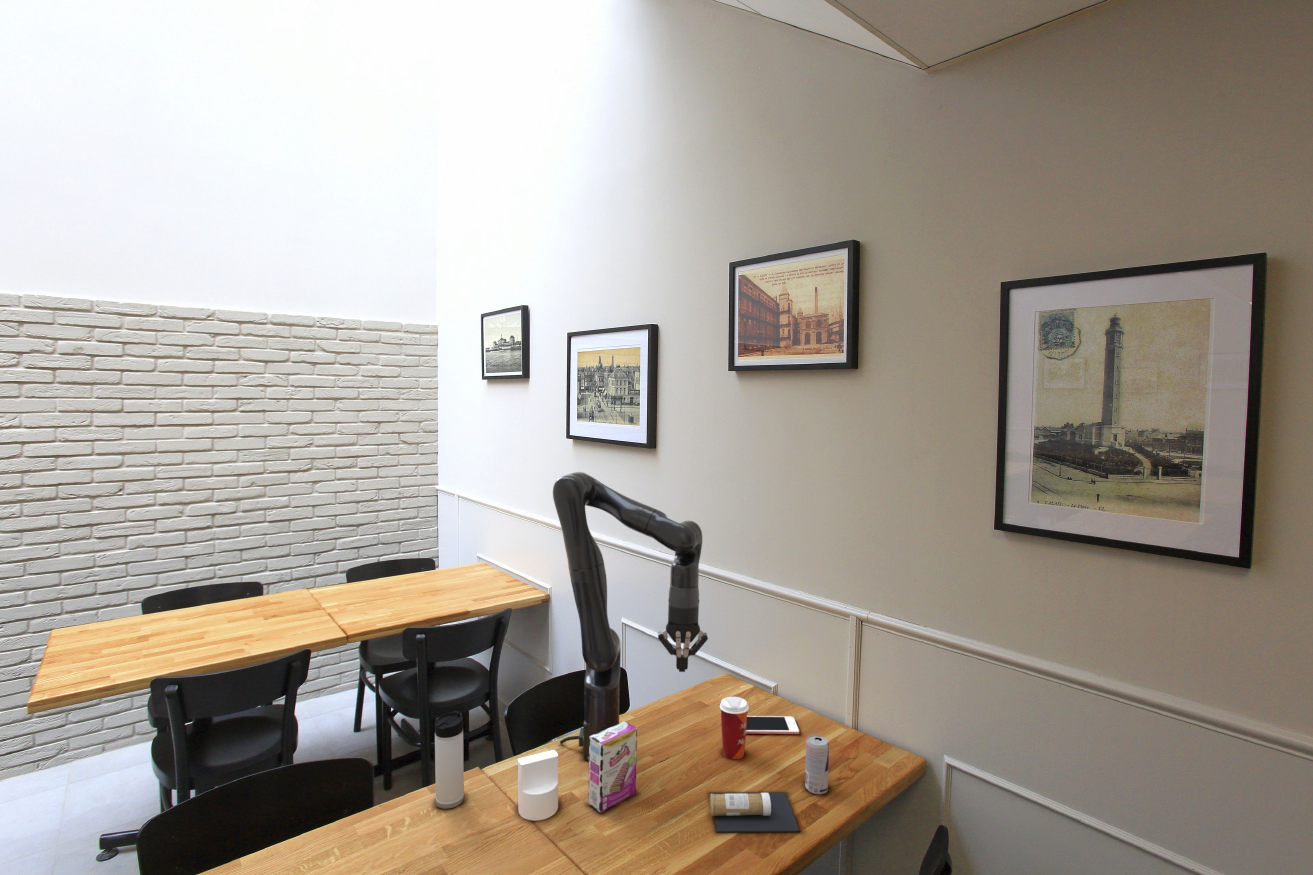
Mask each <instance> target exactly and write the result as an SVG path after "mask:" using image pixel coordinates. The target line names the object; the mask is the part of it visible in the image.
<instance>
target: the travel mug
mask: <svg viewBox="0 0 1313 875" xmlns="http://www.w3.org/2000/svg"><path fill="white" fill-rule="evenodd" d="M464 765H465V764H464V716H463V714H462V712H461V711H457V710H453V711H452V712H451V711H450V712H447V713H444V714H441V715H440V716H438V717H437V718H436V719H435V721H434V767H435V768H434V771H435V774H434V775H435V805H436V807H438V808H439V809H444V810H446V809H447V810H449V809H453V808H455V807H458V806H460V804H462V803H463V801H464V800H465V794H464V793H465V783H464V782H465V780H464V779H465V778H464V777H465V775H464V771H465V770H464V768H465V767H464Z"/></svg>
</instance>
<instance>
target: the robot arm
mask: <svg viewBox="0 0 1313 875" xmlns="http://www.w3.org/2000/svg"><path fill="white" fill-rule="evenodd" d="M552 499H553V503H554V507H555V510H556V513H557V517H558V521H559V524H560V529H561V533H562V538H563V543H564V548H565V553H566V559H567V565H568V566H567V567H568V573H569V577H570V584H571V588H572V592H573V597H574V603H575V606H576V610H577V614H578V619H579V626H580V637H581V638H580V639H581V653H582V658H583V661H584V663H585V673H584V674H585V675H584V682H583V687H584V688H583V691H584V692H583V703H584V704H583V706H584V707H583V710H584V711H583V712H584V713H583V716H584V718H583V719H584V720H583V723H582V724H583V725H582V726H583V727H580V730H579V735H571V736H567V737H564V738H563V739H561V740H559V744H560V745H563V744H564V743H565V742H569V741H574V740H578V747H579V748H580V747H581V748H582V749H583V750H582V751H583V752H582V753H583V754H582V755H583V761H584V760H585V761H589V736H592V735H594V734H596V733H599V732H601V731H603V730H606V729H608V728H610V727H613V726H615V725H617V724H620V682H621V681H620V680H621V658H622V656H621V655H622V654H621V653H622V652H621V651H622V650H621V649H622V646H621V638H620V637H619V635H618V633H617V632H616V630H614V629H613V628H611V626H610V622H609V617H608V580H607V579H608V578H607V572H606V566H605V561H604V556H603V553H602V551H601V549H600V547H599V545H598V543H597V541H596V540H595V538H594V537H593V535H592V533H591V531H590V528H589V525H588V519H587V512H586V506H587V507H591V508H594V509H599V510H601V511H603V512H605V513H607V514H609V515H611V516H612V517H613V518H614V519H616V520H617V521H618V522H620V523H621V524H622V525H624V526H625V527H627V528H629V529H630V530H632V531H634V532H638V533H639V534H642V535H644V536H646V537H649V538H652V539H654V541H656V542H658V543H659V544H661V545H662V546H664V547H665V548H667V549H668V550H671V551H673V552H674V558H673V560H672V563H671V565H670V574H669V576H670V577H669V589H668V606H667V607H668V610H667V611H668V612H667V623H666V625H665V629H663V630H661V631H658V632H657V639H658V640H659V642H660V643H661V644H662V646H663V647H664V648H665V650H666V651H667V652H668V654H670V655H671V656H675V658H676V659H675V660H676V661H675V666H676V670H678V672H679V673H685V672H686V670H688V668H689V657H690V656H695V655H696V654H697V653H698V652H699V651H700V649H701V648H702V647H703V646H704V645H705V643H706V642H707V641H708V640H709V637H708V633H707V632H704V631H702V630H701V626H700V624H699V612H700V610H699V609H700V590H699V580H700V572H699V567H700V560H701V553H702V549H703V548H702V547H703V532H702V528H701V527H700V525H699V524H698V523H697V522H695V521H693V520H684V521H682V522H677V521H675V520H672V519H671V518H668V516H667V514H666V513H665V512H663V511H661V510H659V509H657V508H654V507H652V506H650V505H647V504H644V503H642V502H639V501H637V500H634V499H633V498H630V497H628V496H626V495H624V494H622V493H620V492H619V491H616V490H614V489H613V488H611V487H609V486H607V485H605V484H604V483H602V482H601V481H600V480H598V479H596V478H595V477H593V476H591V475H589V474H587V473H585V472H582V471H574V472H571V473H568V474H565V475H562V476H560V477H559V478H557V479H556V481H555V482H554V484H553V487H552ZM668 636H669V637H670V638H671V640H672V641H673V642H674V643H675V647H674V646H673V645H672V644H671V642H670V641H669V639H668V638H669V637H668ZM696 637H697V639H696ZM695 639H696V641H695V642H694V643H693V644H692V645H691V643H692V642H693V641H694V640H695ZM682 644H683V647H682Z"/></svg>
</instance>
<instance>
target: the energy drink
mask: <svg viewBox="0 0 1313 875" xmlns="http://www.w3.org/2000/svg"><path fill="white" fill-rule="evenodd" d="M829 757H830V744H829V740H828V739H827V738H826V737H825V736H822V735H818V734H812V735H809V736H807V738H806V741H805V772H804V774H805V778H804V780H805V783H804V786H805V789H806V790H807V791H808V792H809V793H811V794H813V795H824V794H826V793H827V792H828V791H829V766H830V764H829V763H830V762H829V761H830V758H829Z"/></svg>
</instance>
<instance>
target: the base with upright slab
mask: <svg viewBox="0 0 1313 875" xmlns="http://www.w3.org/2000/svg"><path fill="white" fill-rule="evenodd" d="M517 786H518V787H517V789H518V790H517V803H518V804H517V805H518V806H517V810H518V811H517V812H518V814H519V815H520V818H523V819H525V820H527V821H536V822H537V821H544V820H547V819H549V818H551V817H552V816H554V815H555V814H556V813H557V811H558V809H559V754H558V752H557V751H556V750H555V749H551V750H546V751H542V752H538V753H535V754H531V755H527V756H523V757H519V758H517Z"/></svg>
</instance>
